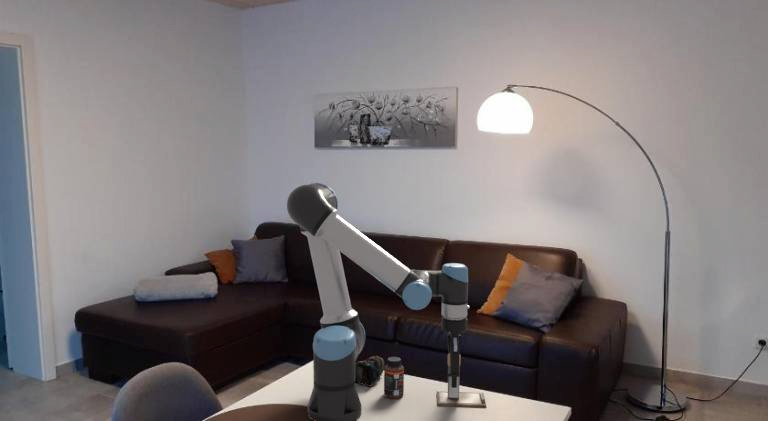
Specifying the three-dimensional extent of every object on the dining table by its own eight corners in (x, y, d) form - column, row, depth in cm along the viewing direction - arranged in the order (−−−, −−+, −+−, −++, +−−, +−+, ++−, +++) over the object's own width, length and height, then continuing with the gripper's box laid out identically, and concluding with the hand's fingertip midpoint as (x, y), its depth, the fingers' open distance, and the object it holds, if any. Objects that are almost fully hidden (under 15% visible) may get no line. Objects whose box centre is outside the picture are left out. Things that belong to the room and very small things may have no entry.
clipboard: (437, 405, 167) (437, 400, 167) (436, 393, 176) (436, 388, 176) (486, 407, 166) (486, 402, 166) (482, 394, 175) (482, 390, 175)
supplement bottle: (401, 400, 171) (402, 363, 170) (382, 398, 172) (382, 361, 171) (405, 392, 177) (405, 356, 176) (386, 390, 178) (386, 354, 177)
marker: (447, 400, 169) (448, 356, 168) (446, 394, 172) (447, 352, 171) (460, 400, 169) (460, 357, 168) (459, 395, 172) (459, 352, 171)
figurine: (343, 366, 182) (370, 348, 195) (351, 390, 183) (377, 371, 195) (365, 364, 177) (390, 346, 190) (372, 390, 178) (397, 369, 190)
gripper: (470, 324, 160) (468, 406, 162) (465, 309, 176) (463, 384, 178) (442, 324, 161) (441, 405, 163) (440, 309, 177) (439, 383, 179)
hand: (453, 394), depth 170 cm, fingers closed on marker, 3 cm apart
